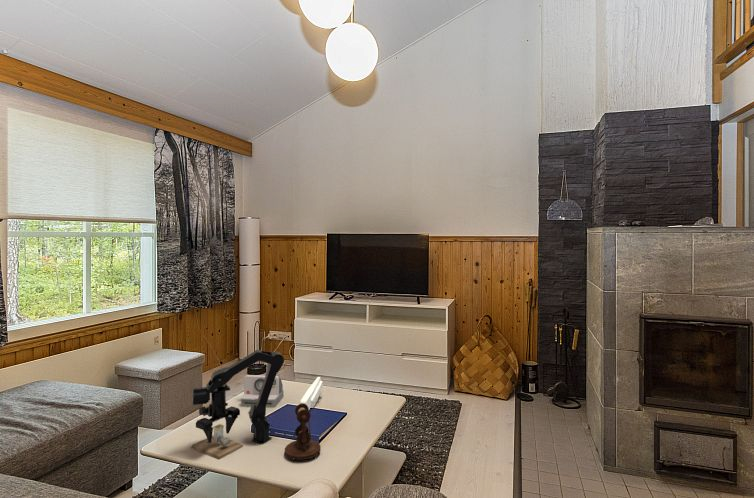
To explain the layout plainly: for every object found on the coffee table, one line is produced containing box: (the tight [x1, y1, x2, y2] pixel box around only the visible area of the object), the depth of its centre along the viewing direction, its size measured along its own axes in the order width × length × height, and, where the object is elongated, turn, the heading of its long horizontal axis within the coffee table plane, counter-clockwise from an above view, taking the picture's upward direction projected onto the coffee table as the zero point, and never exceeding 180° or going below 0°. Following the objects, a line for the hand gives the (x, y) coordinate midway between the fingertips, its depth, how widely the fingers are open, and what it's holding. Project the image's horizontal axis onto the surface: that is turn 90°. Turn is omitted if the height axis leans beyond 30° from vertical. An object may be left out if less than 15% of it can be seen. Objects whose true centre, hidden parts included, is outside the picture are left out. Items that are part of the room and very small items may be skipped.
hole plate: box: [190, 434, 244, 460], centre depth 182 cm, size 18×12×5 cm, turn 59°
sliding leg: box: [212, 424, 224, 445], centre depth 182 cm, size 3×3×8 cm
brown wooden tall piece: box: [284, 403, 321, 462], centre depth 177 cm, size 15×15×20 cm
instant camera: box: [240, 374, 285, 409], centre depth 236 cm, size 21×21×15 cm
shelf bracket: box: [299, 376, 324, 410], centre depth 230 cm, size 6×25×13 cm, turn 168°
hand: (218, 437), depth 182 cm, fingers open, 9 cm apart
